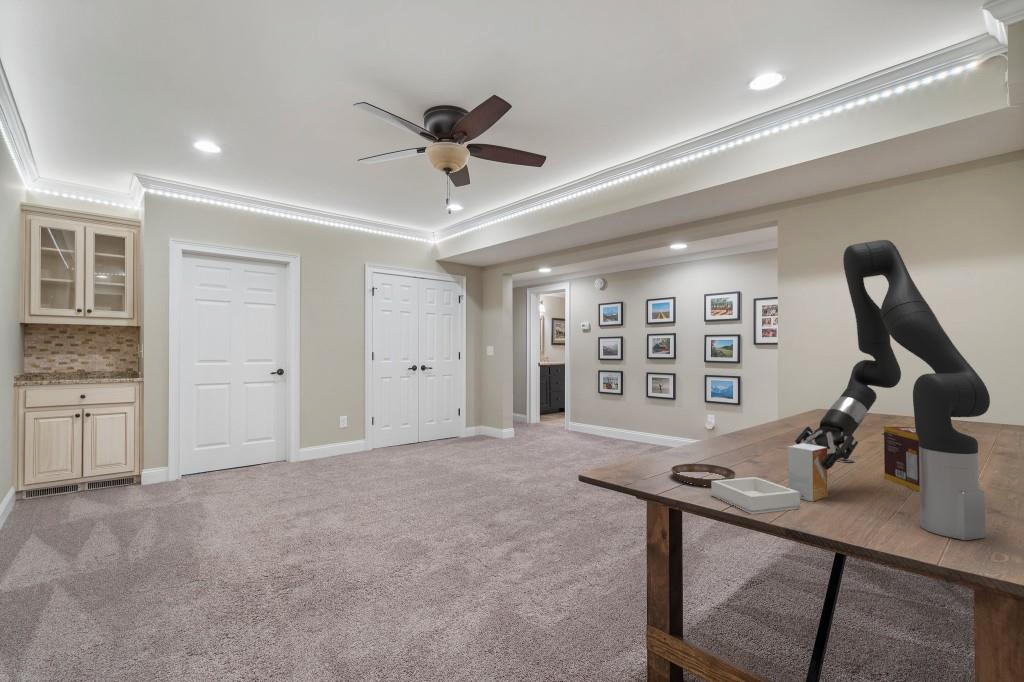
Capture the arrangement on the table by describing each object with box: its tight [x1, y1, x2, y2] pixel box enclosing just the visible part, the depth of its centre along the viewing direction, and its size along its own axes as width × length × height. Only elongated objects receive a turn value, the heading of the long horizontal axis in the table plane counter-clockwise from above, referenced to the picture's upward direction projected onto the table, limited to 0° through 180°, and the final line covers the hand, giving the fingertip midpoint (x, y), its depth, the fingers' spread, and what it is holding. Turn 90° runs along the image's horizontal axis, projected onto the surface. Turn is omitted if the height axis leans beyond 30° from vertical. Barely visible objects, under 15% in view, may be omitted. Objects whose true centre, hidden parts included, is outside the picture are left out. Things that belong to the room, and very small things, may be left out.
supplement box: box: [883, 425, 920, 493], centre depth 134 cm, size 10×15×16 cm
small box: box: [787, 443, 828, 502], centre depth 124 cm, size 8×6×13 cm
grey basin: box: [710, 476, 801, 515], centre depth 120 cm, size 14×14×4 cm
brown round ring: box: [670, 463, 737, 487], centre depth 140 cm, size 18×18×3 cm
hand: (809, 463), depth 125 cm, fingers open, 8 cm apart
